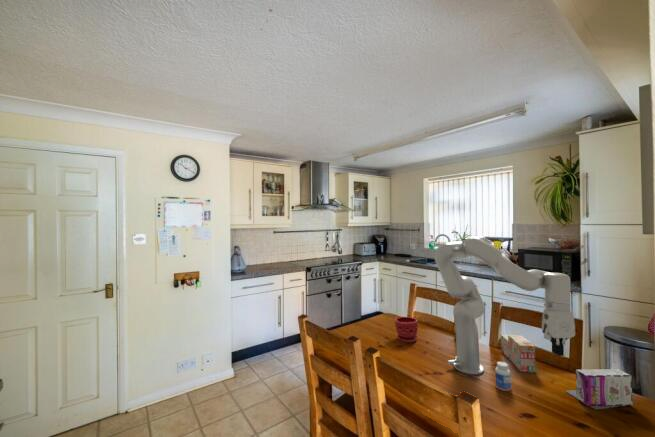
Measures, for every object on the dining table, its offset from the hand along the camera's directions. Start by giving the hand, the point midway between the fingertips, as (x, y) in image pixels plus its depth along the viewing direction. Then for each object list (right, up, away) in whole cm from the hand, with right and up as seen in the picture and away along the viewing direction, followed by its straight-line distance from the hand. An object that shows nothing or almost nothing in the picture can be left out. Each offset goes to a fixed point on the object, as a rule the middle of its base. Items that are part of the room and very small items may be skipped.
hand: (557, 354), depth 106 cm
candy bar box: (+7, -12, -1) cm, 14 cm away
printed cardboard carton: (+6, -19, +32) cm, 37 cm away
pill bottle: (-15, -19, +10) cm, 26 cm away
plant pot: (-40, -22, +62) cm, 76 cm away
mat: (+15, -18, +1) cm, 23 cm away
